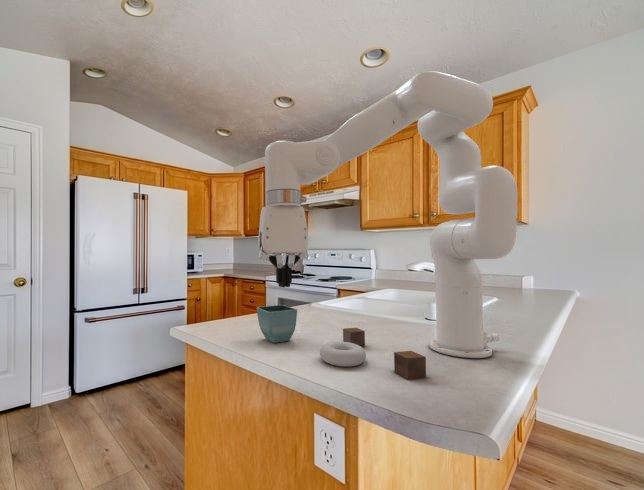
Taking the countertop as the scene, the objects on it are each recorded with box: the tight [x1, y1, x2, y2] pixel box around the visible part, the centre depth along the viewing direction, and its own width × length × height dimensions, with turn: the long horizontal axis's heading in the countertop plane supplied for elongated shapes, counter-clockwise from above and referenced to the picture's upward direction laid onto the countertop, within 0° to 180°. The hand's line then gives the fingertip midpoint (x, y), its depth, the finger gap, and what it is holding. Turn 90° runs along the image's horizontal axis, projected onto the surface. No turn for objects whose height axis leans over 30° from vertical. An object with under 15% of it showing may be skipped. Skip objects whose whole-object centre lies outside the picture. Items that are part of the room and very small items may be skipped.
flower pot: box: [256, 304, 298, 344], centre depth 88 cm, size 9×9×9 cm
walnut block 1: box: [342, 327, 366, 348], centre depth 83 cm, size 4×4×4 cm
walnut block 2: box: [393, 350, 427, 380], centre depth 62 cm, size 4×4×4 cm
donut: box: [318, 341, 367, 368], centre depth 71 cm, size 10×4×10 cm
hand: (284, 286), depth 68 cm, fingers closed
